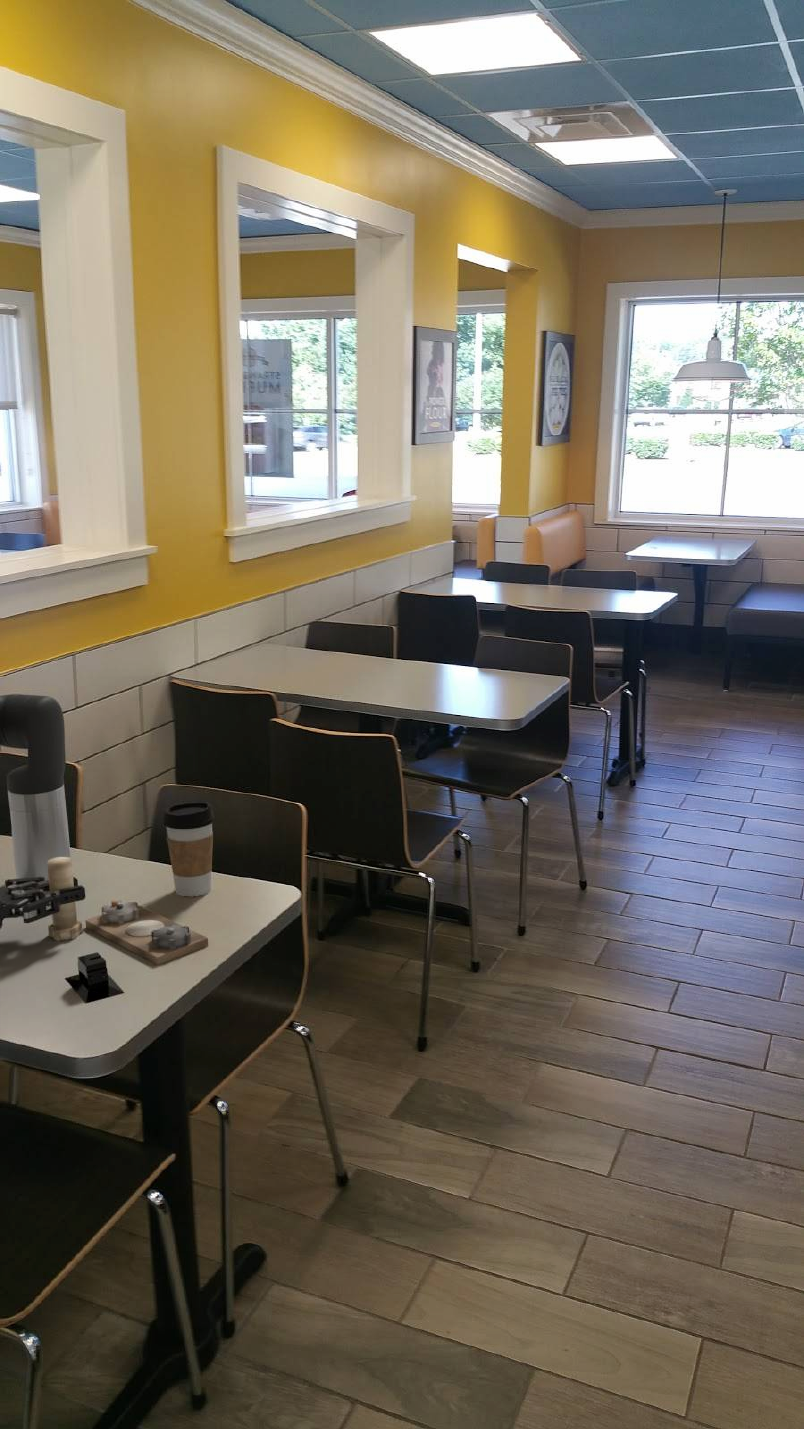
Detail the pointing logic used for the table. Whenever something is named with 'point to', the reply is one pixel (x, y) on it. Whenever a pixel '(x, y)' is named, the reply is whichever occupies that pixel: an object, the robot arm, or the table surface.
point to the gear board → (145, 932)
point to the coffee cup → (190, 846)
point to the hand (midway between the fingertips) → (80, 887)
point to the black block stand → (93, 979)
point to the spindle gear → (66, 918)
